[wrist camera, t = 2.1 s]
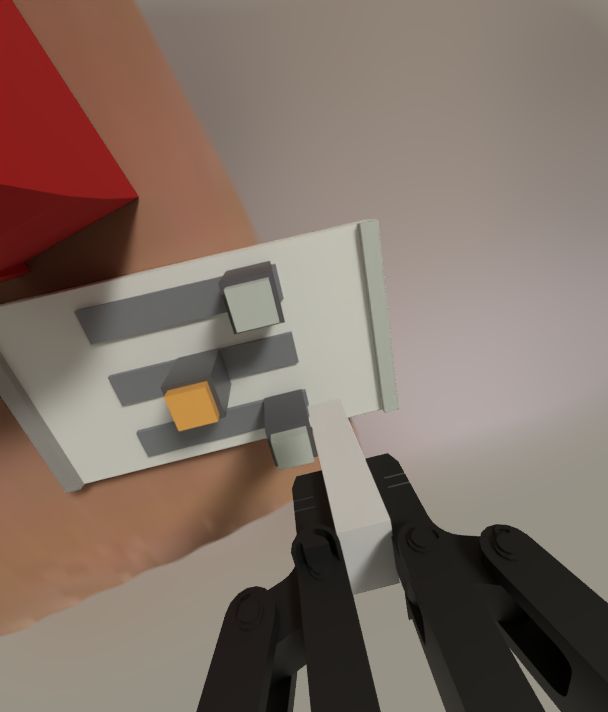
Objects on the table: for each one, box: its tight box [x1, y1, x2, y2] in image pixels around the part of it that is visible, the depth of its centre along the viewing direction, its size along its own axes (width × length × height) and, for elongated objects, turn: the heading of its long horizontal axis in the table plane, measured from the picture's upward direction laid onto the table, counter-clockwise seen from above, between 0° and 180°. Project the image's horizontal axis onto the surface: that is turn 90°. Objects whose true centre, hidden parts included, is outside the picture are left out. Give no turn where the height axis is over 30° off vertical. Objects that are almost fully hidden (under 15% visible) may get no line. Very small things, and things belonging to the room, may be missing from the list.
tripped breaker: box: [160, 348, 231, 431], centre depth 22 cm, size 3×3×5 cm
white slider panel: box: [0, 219, 399, 493], centre depth 23 cm, size 28×15×8 cm, turn 102°
